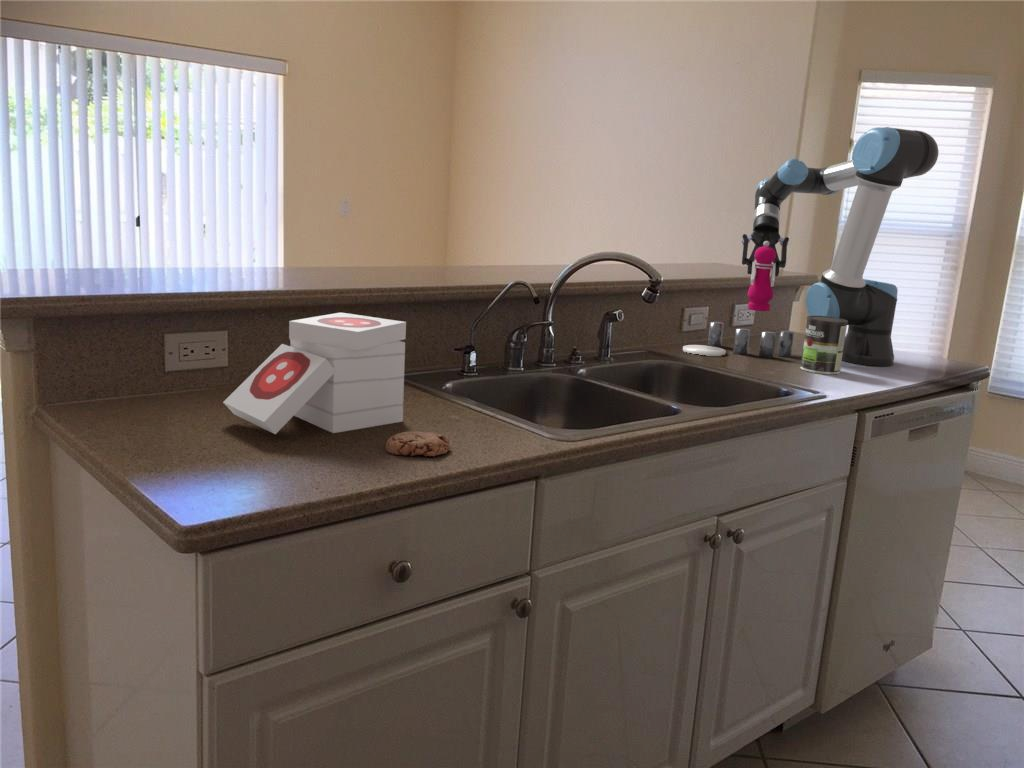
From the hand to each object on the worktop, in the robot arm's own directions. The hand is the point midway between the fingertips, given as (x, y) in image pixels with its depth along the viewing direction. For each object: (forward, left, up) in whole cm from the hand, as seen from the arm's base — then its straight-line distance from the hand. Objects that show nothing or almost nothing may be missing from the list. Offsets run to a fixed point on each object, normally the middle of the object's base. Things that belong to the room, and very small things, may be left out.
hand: (762, 282), depth 257 cm
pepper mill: (+3, -2, -8) cm, 9 cm away
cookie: (-83, +117, -21) cm, 145 cm away
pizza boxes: (-65, +131, -20) cm, 148 cm away
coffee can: (-26, -4, -20) cm, 33 cm away
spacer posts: (+1, +1, -20) cm, 20 cm away
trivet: (-1, +17, -20) cm, 26 cm away
